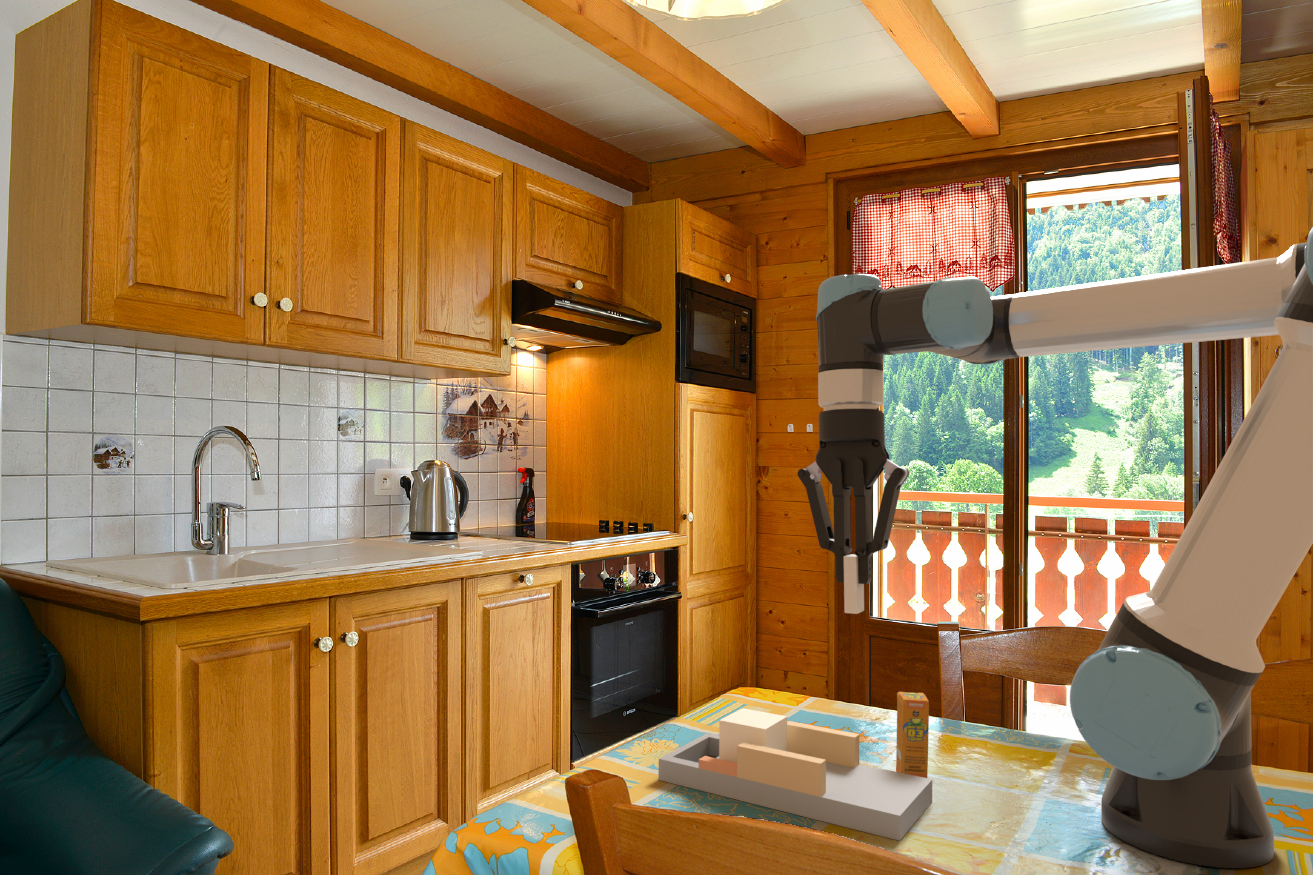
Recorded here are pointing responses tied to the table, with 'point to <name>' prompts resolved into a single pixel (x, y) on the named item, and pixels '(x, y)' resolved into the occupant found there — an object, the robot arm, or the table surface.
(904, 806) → the tray
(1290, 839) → the table surface
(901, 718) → the supplement box
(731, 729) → the block
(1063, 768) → the table surface
